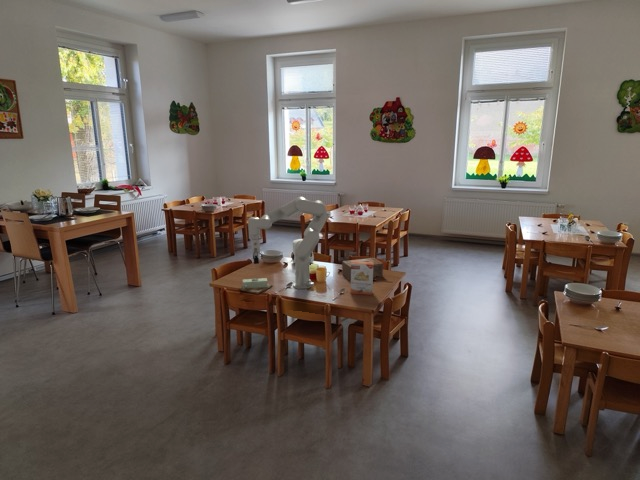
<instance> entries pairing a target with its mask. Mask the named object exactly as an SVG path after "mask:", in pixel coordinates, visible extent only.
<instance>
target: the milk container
mask: <svg viewBox="0 0 640 480" xmlns="http://www.w3.org/2000/svg"><path fill="white" fill-rule="evenodd" d="M300 240H303V238H298V239H294V240H293V241H292V255H291V261H292V263H293V264H295V245H296V243H297V242H298V241H300ZM313 251H314V250H313ZM313 251H312V253H311V254H310V255H309V261H310V264H309V265H311V264H313V262H314V260H315V259H314V258H315V256H314V252H313Z"/></svg>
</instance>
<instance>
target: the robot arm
mask: <svg viewBox="0 0 640 480" xmlns="http://www.w3.org/2000/svg"><path fill="white" fill-rule="evenodd" d="M299 212H300V213H303V214H307V215H312V216H313V217H312V219H311V221H310V222H309V224H308V226H307V227H306V228H305V230H304V232H303V236H304V237H303V238H302V239H303V240H300V241H298V242H297V243H296V245H295V263H294V266H295V267H294V269H295V273H294V274H295V277H294V278H295V282H294V283H292V286H293V287H294V289H298V290H306V289H307V290H308V289H310V288H311V287H314V286H315V281H314V282H313V281H312V280H311V279H310V265H311V264H310V261H309V255H310V254H311V253H312V251H314V250H315V249H316V246H317V245H318V243H319V241H320V232H321V231H322V229H323V227H324V226H325V224H326V221H327V218H328V217H327V215H328V213H327V207H326V204H325V203H324V202H323V201H321V200H319V199H317V200H314V201H313V200H309V199H307V198H306V197H304V196H298V197H295V198H294V199H293V200H290V201H288V202H287V203H285V204H283V205H281V206H278V207H277V208H274V209H273V210H270V211H269V212H267V213H265V214H263V215H262V216H261V217H260V218H259V217H257V216H252V217H249V218H248V219H247V225H248V226H247V229H248V239H249V240H250V246H251V253H252V260H253V264H254V265H256V264H257V265H258V264H260V261H259V260H260V258H259V255H260V254H261V247H260V245H261V244H260V239H262V237H261V230H269V229H270V228H271V227H272V226H273V225H272V224H273V223H275V222H277V221H279V220H283V219H289V218H291V217H292V216H294V215H296V214H298V213H299Z"/></svg>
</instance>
